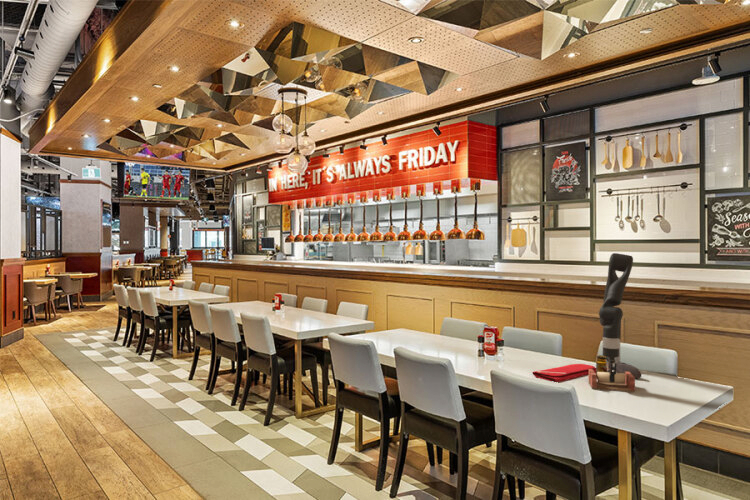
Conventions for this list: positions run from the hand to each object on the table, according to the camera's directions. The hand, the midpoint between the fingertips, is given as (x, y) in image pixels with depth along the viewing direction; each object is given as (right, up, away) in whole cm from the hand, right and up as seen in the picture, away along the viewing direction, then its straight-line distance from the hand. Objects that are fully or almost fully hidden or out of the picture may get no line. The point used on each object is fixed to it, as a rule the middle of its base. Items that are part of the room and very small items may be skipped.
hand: (610, 380), depth 238 cm
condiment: (+3, -4, +17) cm, 18 cm away
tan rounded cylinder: (0, -1, 0) cm, 1 cm away
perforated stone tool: (+19, -4, +19) cm, 27 cm away
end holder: (0, -3, 0) cm, 3 cm away
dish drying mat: (-12, -4, +26) cm, 29 cm away
